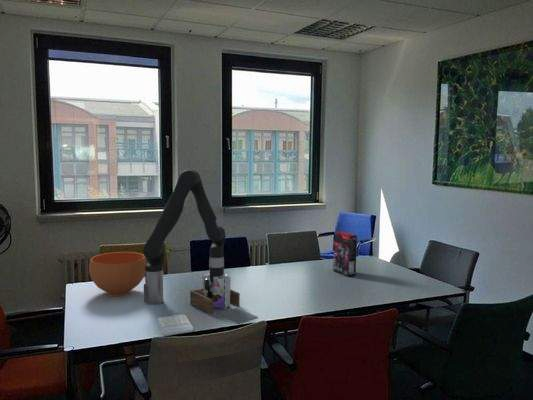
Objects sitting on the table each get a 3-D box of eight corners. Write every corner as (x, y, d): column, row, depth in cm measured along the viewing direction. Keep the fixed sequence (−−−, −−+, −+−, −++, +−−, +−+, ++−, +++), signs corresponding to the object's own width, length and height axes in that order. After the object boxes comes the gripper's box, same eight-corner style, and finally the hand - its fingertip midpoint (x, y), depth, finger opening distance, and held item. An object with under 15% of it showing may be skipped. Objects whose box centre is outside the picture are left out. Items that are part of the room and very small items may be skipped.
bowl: (156, 288, 262) (155, 253, 259) (127, 304, 233) (126, 266, 231) (111, 283, 270) (111, 250, 267) (78, 298, 241) (77, 261, 239)
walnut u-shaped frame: (210, 313, 221) (210, 300, 221) (190, 303, 236) (190, 290, 235) (239, 306, 233) (239, 293, 232) (218, 296, 247) (218, 284, 247)
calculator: (184, 317, 218) (184, 313, 218) (194, 332, 199) (194, 328, 199) (157, 320, 213) (157, 316, 213) (164, 336, 194) (164, 332, 194)
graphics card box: (332, 271, 306) (333, 231, 303) (340, 269, 309) (341, 231, 306) (348, 277, 291) (349, 236, 288) (356, 276, 294) (358, 235, 291)
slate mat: (238, 323, 209) (238, 322, 209) (217, 313, 222) (217, 312, 222) (257, 317, 217) (257, 316, 217) (236, 308, 230) (236, 307, 230)
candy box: (202, 305, 234) (202, 274, 232) (208, 301, 239) (208, 271, 237) (224, 309, 227) (224, 278, 226) (230, 306, 233) (230, 275, 231)
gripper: (209, 269, 223) (209, 301, 225) (232, 264, 233) (232, 295, 235) (200, 266, 229) (201, 297, 231) (223, 261, 238) (223, 291, 240)
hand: (216, 296), depth 233 cm, fingers closed on candy box, 7 cm apart
